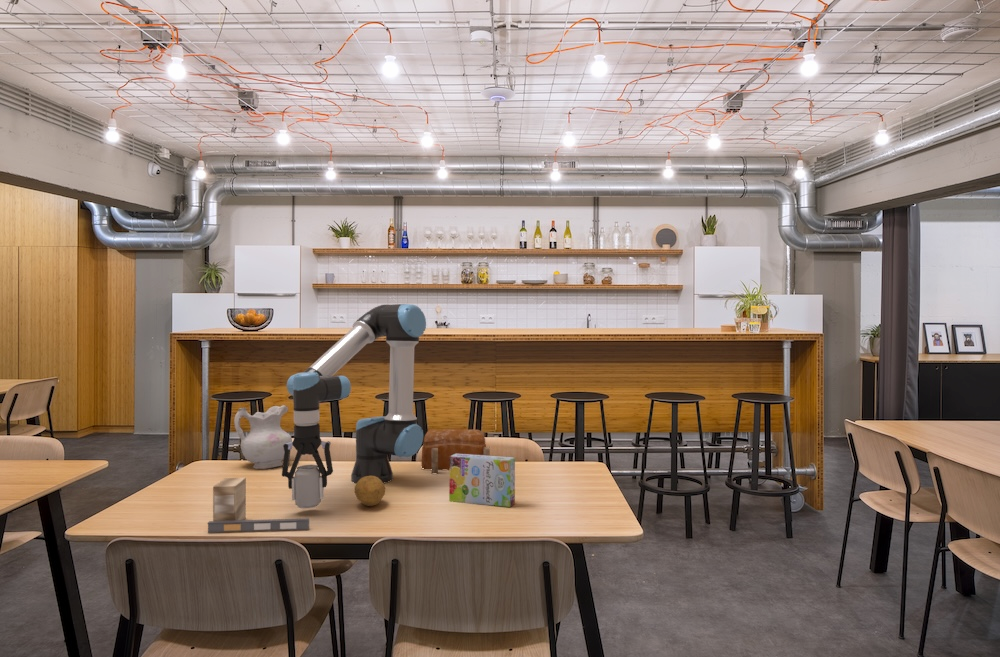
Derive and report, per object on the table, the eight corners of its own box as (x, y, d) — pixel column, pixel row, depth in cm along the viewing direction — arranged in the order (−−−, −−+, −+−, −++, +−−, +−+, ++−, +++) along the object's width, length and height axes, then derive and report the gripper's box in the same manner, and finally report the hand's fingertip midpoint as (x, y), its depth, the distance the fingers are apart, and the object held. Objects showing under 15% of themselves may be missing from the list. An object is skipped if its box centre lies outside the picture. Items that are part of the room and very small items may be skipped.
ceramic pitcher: (256, 476, 241) (256, 410, 240) (224, 470, 251) (224, 406, 251) (301, 465, 259) (302, 404, 259) (270, 460, 269) (270, 401, 269)
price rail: (309, 528, 180) (309, 518, 180) (308, 530, 178) (308, 520, 178) (209, 531, 177) (209, 521, 177) (207, 533, 175) (207, 523, 175)
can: (313, 509, 190) (312, 469, 189) (290, 508, 191) (289, 468, 191) (325, 502, 197) (324, 463, 197) (303, 501, 198) (302, 463, 198)
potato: (348, 511, 196) (348, 481, 196) (361, 499, 209) (361, 471, 209) (378, 512, 195) (379, 481, 195) (389, 500, 209) (389, 471, 209)
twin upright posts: (485, 461, 268) (485, 437, 268) (489, 474, 245) (490, 448, 245) (431, 462, 265) (431, 438, 265) (431, 475, 243) (431, 449, 243)
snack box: (515, 503, 205) (515, 456, 205) (510, 508, 200) (510, 460, 200) (455, 497, 212) (455, 452, 212) (448, 501, 207) (448, 455, 207)
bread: (487, 471, 250) (487, 431, 250) (420, 472, 249) (420, 432, 249) (486, 464, 264) (486, 426, 263) (423, 464, 263) (423, 426, 263)
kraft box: (245, 518, 189) (245, 477, 189) (235, 529, 179) (235, 486, 178) (224, 518, 188) (224, 478, 188) (212, 529, 178) (212, 486, 178)
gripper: (342, 420, 198) (343, 493, 199) (275, 422, 196) (276, 496, 197) (339, 424, 191) (340, 500, 191) (269, 426, 189) (270, 503, 189)
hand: (308, 498), depth 194 cm, fingers closed on can, 7 cm apart
